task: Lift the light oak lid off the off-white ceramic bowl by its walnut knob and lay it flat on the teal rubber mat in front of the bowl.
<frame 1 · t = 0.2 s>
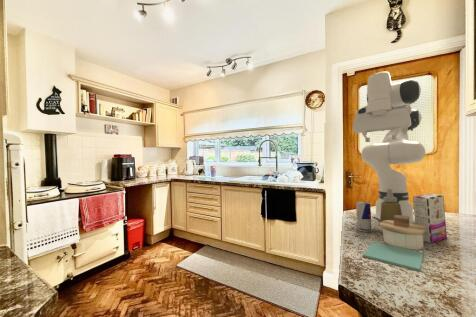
hand: (380, 140, 86), 38 cm above the countertop, tool pointing down, fingers open, 8 cm apart
rubber mat: (393, 255, 65), on the countertop
energy drink: (364, 230, 89), on the countertop
ceramic bowl: (402, 243, 73), on the countertop
oak lid: (402, 228, 73), point 5 cm above the countertop, touching ceramic bowl
squeeze bottle: (392, 232, 86), on the countertop
candy bar box: (431, 239, 77), on the countertop
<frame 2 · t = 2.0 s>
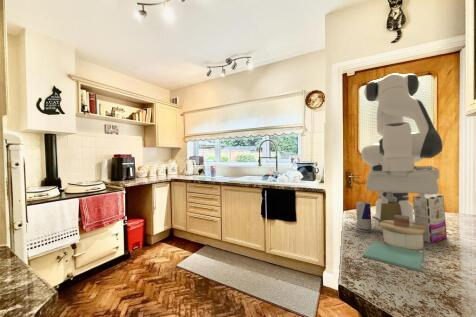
hand: (400, 205, 73), 14 cm above the countertop, tool pointing down, fingers open, 8 cm apart
nothing on the countertop moved.
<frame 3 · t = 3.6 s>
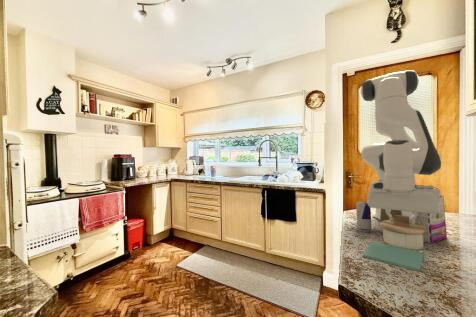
hand: (401, 222, 74), 7 cm above the countertop, tool pointing down, fingers closed on oak lid, 4 cm apart
oak lid: (402, 228, 73), point 5 cm above the countertop, touching ceramic bowl, gripper
everything else where it was.
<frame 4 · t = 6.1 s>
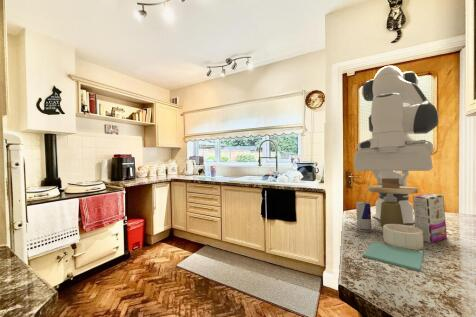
hand: (390, 185, 66), 22 cm above the countertop, tool pointing down, fingers closed on oak lid, 4 cm apart
oak lid: (391, 191, 66), point 20 cm above the countertop, touching gripper
everything else where it was.
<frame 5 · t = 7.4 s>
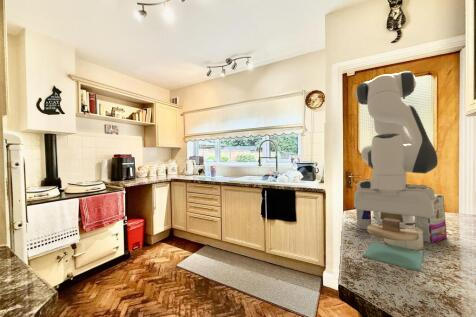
hand: (391, 227, 65), 9 cm above the countertop, tool pointing down, fingers closed on oak lid, 4 cm apart
oak lid: (391, 233, 65), point 7 cm above the countertop, touching gripper
everything else where it was.
when the fingers open (4 cm above the countertop, at t = 8.7 s): oak lid drops 1 cm, resting on rubber mat.
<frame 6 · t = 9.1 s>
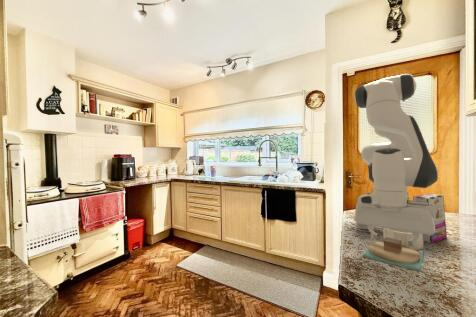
hand: (392, 242, 65), 4 cm above the countertop, tool pointing down, fingers open, 8 cm apart
oak lid: (393, 253, 65), point 1 cm above the countertop, touching rubber mat
everything else where it was.
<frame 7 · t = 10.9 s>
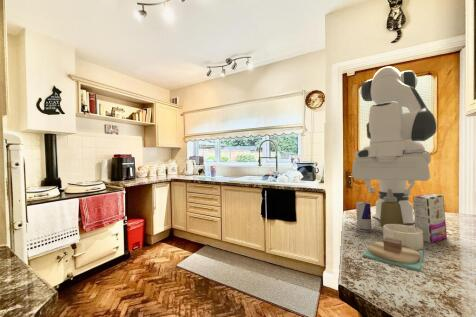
hand: (388, 193, 66), 19 cm above the countertop, tool pointing down, fingers open, 8 cm apart
nothing on the countertop moved.
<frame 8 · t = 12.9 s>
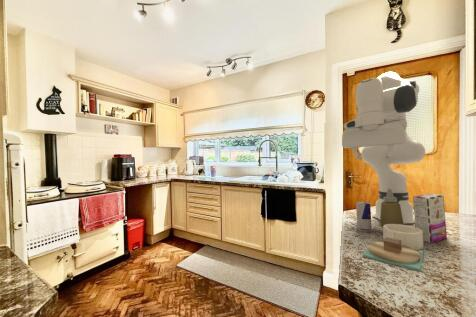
hand: (372, 158, 76), 31 cm above the countertop, tool pointing down, fingers open, 8 cm apart
nothing on the countertop moved.
at the end: oak lid inside the target area on the rubber mat (0.0 cm from its centre), point 0.6 cm above the rubber mat's base; oak lid tilted 0°; oak lid touching rubber mat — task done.
